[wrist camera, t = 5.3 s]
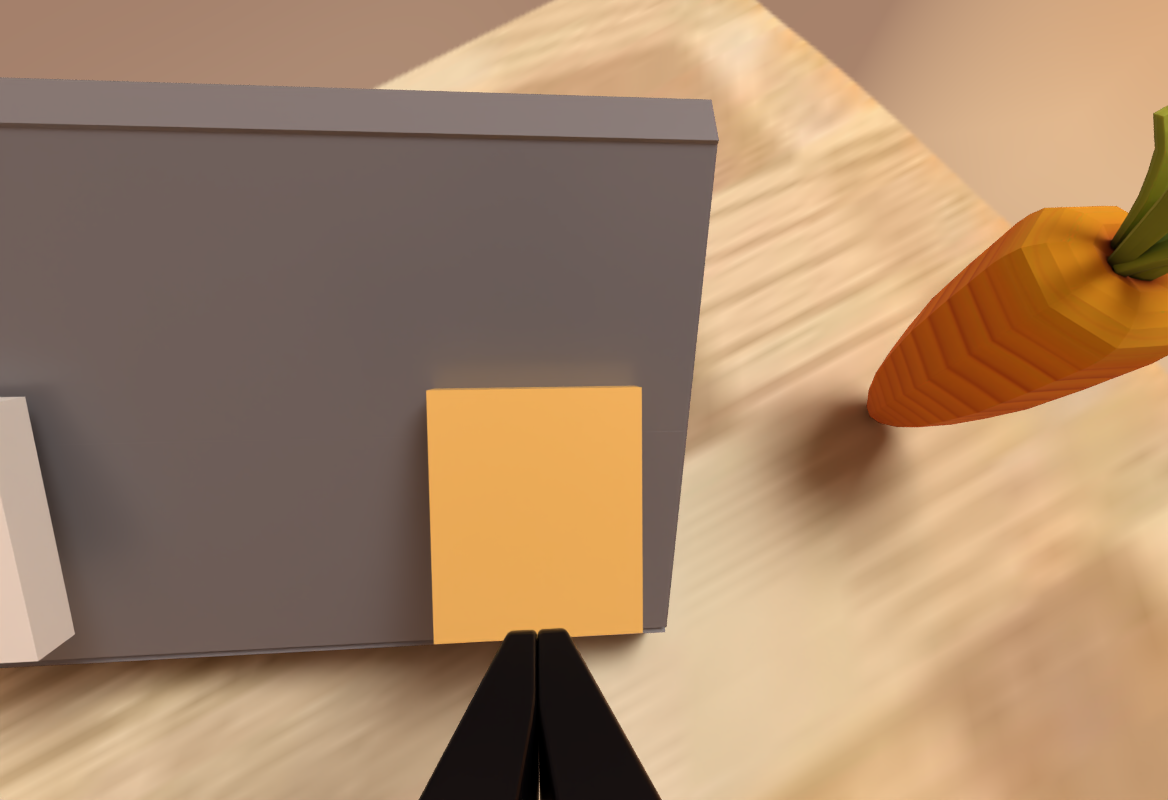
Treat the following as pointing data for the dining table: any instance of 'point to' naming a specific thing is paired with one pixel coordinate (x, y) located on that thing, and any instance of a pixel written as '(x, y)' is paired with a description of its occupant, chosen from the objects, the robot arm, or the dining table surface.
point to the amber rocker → (535, 511)
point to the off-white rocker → (27, 548)
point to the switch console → (321, 333)
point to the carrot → (1039, 313)
